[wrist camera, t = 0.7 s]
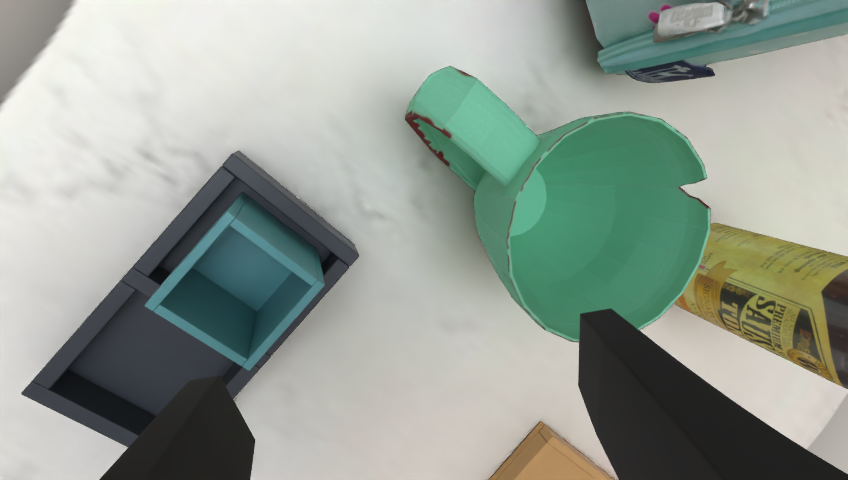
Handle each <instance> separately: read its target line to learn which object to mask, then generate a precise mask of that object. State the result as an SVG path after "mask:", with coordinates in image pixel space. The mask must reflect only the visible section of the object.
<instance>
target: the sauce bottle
mask: <svg viewBox="0 0 848 480" xmlns="http://www.w3.org/2000/svg"><path fill="white" fill-rule="evenodd" d="M674 303H675V304H676V305H677V306H679V307H680V308H682V309H684V310H686V311H688V312H690V313H692V314H695V315H697V316H699V317H701V318H703V319H705V320H707V321H709V322H711V323H713V324H715V325H717V326H719V327H721V328H723V329H725V330H727V331H729V332H731V333H733V334H735V335H737V336H739V337H741V338H743V339H745V340H747V341H749V342H752V343H754V344H756V345H758V346H760V347H762V348H764V349H766V350H768V351H770V352H772V353H774V354H776V355H778V356H780V357H783V358H785V359H787V360H789V361H791V362H793V363H795V364H797V365H799V366H801V367H803V368H805V369H807V370H809V371H811V372H813V373H815V374H817V375H819V376H821V377H823V378H825V379H827V380H829V381H831V382H833V383H836V384H838V385H840V386H842V387H844V388H846V389H848V257H847V256H843V255H839V254H835V253H831V252H827V251H824V250H820V249H816V248H812V247H808V246H804V245H800V244H796V243H792V242H788V241H785V240H781V239H777V238H773V237H769V236H766V235H762V234H758V233H754V232H750V231H746V230H742V229H738V228H734V227H730V226H726V225H722V224H718V223H713V224H710V233H709V236H708V240H707V243H706V246H705V250H704V253H703V256H702V260H701V263H700V265H699V267H698V268H697V270H696V272H695V273H694V275H693V277H692V279H691V280H690V282H689V284H688V286H687V287H686V289H685V291H684V292H683V294H682V295H681V296H680V297H679V298H678V299H677V300H676V301H675V302H674Z"/></svg>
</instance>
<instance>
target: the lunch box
mask: <svg viewBox="0 0 848 480" xmlns="http://www.w3.org/2000/svg"><path fill="white" fill-rule="evenodd" d="M586 3H587V6H588V10H589V13H590V17H591V20H592V23H593V27H594V30H595V35H596V38H597V40H598V41H599V42H600V44H601V45H602V46H603V47H604V49H603V50H601V51H599V52H598V58H597V62H599V63H600V66H601V67H602V68H603V69H604V72H605V73H607V74H610V73H616V74H618V75H627V74H628V75H629V76H630V77H632V78H633V79H635V80H638V81H642V82H647V83H661V82H672V81H679V80H688V79H695V78H701V77H710V76H714V75H715V74H714V72H713V69H711V68H709V67H706V65H708V64H711V63H715V62H720V61H726V60H731V59H737V58H742V57H748V56H752V55H757V54H761V53H765V52H770V51H774V50H779V49H783V48H787V47H792V46H796V45H800V44H805V43H809V42H814V41H818V40H823V39H827V38H832V37H836V36H841V35H845V34H848V0H586Z"/></svg>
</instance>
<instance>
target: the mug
mask: <svg viewBox="0 0 848 480" xmlns="http://www.w3.org/2000/svg"><path fill="white" fill-rule="evenodd" d="M405 120H406V121H407V123H408V124H409V125H410V126H411V127H412V128H413V130H414V131H415V132H416V133H417V134H418V136H419V137H420V138H421V139H422V140H423V142H424V143H425V144H426V145H427V146H428V147H429V149H430V150H431V151H432V152H433V153H434V154H435V155H436V156H437V157H438V158H439V159H440V160H441V161H442V162H443V163H445V164H446V165H447V166H448V167H449V168H450V169H451V170H452V171H454V172H455V173H456V174H457V175H458V176H459V177H460V178H461V179H462V180H464V181H465V182H466V183H467V184H468V185H469V186H470V187H471V188H472V189H474V190H475V194H474V199H473V200H474V213H475V223H476V227H477V230H478V233H479V236H480V239H481V241H482V244H483V246H484V248H485V250H486V252H487V255H488V257H489V259H490V261H491V263H492V265H493V267H494V269H495V271H496V273H497V274H498V276H499V278H500V279H501V281H502V282H503V284H504V285H505V287H506V288H507V290H508V291H509V293H510V295H511V297H512V298H513V299H514V300H515V301H516V303H517V304H518V305H519V306H520V307H521V308H522V309H523V310H524V311H525V312H526V313H527V314H528V315H529V316H530V317H531V318H532V319H533V320H534V321H535V322H536V323H537V324H538V325H539V326H541V327H542V328H543V329H544V330H546V331H548V332H551V333H553V334H555V335H557V336H560V337H562V338H564V339H567V340H569V341H571V342H579V336H580V313H586V312H592V311H598V310H604V309H610V308H611V309H613V310H614V311H615V312H617V313H618V314H619V315H620V316H622V317H623V318H624V319H626V320H627V321H628V322H629V323H631V324H632V325H633V326H634V327H636V328H637V329H638V330H641V329H642V328H644V327H646V326H647V325H649V324H650V323H652V322H654V321H655V320H657V319H658V318H660V317H661V316H662V315H663V314H664V313H665V312H666V311H667V310H668V308H669V307H670V306H671V305H672V304H673V303H674V302H675V301H676V300H677V299H678V298H679V297H680V296H681V295H682V294H683V292H684V291H685V289H686V287H687V286H688V284H689V282H690V280H691V279H692V277H693V275H694V273H695V272H696V270H697V268H698V267H699V265H700V263H701V260H702V256H703V253H704V250H705V246H706V243H707V240H708V236H709V233H710V210H711V208H710V207H709V206H707V205H706V204H705V203H704V202H702V201H701V200H700V199H699V198H696V197H693V196H690V195H689V194H687V193H686V192H685V191H684V190H683V189H682V188H681V187H680V186H683V185H686V184H693V183H697V182H699V181H702V180H705V179H707V175H706V171H705V167H704V164H703V162H702V160H701V159H700V157H699V156H698V154H697V153H696V151H695V149H694V148H693V146H692V145H691V143H690V142H689V140H688V138H687V137H686V136H684V135H683V134H681V133H680V132H679V131H677V130H676V129H675V128H673V127H672V126H670V125H669V124H668V123H666V122H665V121H664V120H662V119H659V118H655V117H651V116H646V115H642V114H638V113H634V112H617V113H610V114H604V115H598V116H591V117H585V118H580V119H577V120H575V121H572V122H570V123H568V124H566V125H563V126H561V127H559V128H556V129H554V130H551V131H549V132H546V133H543V134H540V135H538V136H536V135H535V134H534V133H533V132H532V131H531V130H530V129H529V128H528V127H527V126H526V125H525V124H524V123H523V122H522V121H521V120H520V119H519V118H518V117H517V116H516V114H515V113H514V112H513V111H512V110H511V109H510V108H509V107H508V106H507V105H506V104H505V103H504V102H503V101H501V100H500V99H499V98H498V97H497V96H496V95H495V94H494V93H493V92H491V91H490V90H489V89H488V88H487V87H486V86H485V85H484V84H483V83H481V82H480V81H479V80H478V79H477V78H475V77H473V76H471V75H469V74H467V73H465V72H462V71H460V70H458V69H456V68H454V67H451V66H449V67H446V68H443V69H440V70H438V71H436V72H435V73H433V74H431V75H430V76H429V77H428V78H427V79H426V80H425V82H424V83H423V84H422V86H421V87H420V88H419V90H418V91H417V93H416V94H415V95H414V97H413V98H412V100H411V101H410V103H409V106H408V109H407V112H406V115H405Z"/></svg>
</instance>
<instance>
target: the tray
mask: <svg viewBox="0 0 848 480" xmlns="http://www.w3.org/2000/svg"><path fill="white" fill-rule="evenodd" d="M489 480H615V479H614V478H612V477H611V476H610V475H609V474H607V473H606V472H605V471H603V470H602V469H601V468H600V467H598V466H597V465H596V464H594V463H593V462H592V461H591V460H589V459H588V458H587V457H586V456H584V455H583V454H582V453H580V452H579V451H578V450H577V449H575V448H574V447H573V446H571V445H570V444H569V443H568V442H566V441H565V440H564V439H563V438H561V437H560V436H559V435H557V434H556V433H555V432H554V431H552V430H551V429H550V428H548V427H547V426H546V425H545V424H543V423H542V422H540V423H539V424H538V425H537V426H536V427H535V428H534V430H533V431H532V432H531V433H530V434H529V435H528V436H527V438H526V439H525V440H524V441H523V442H522V443H521V444H520V445H519V447H518V448H517V449H516V450H515V451H514V452H513V453H512V455H511V456H510V457H509V458H508V459H507V460H506V461H505V462H504V464H503V465H502V466H501V467H500V468H499V469H498V470H497V471H496V473H495V474H494V475H493V476H492V477H491V478H490V479H489Z"/></svg>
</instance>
